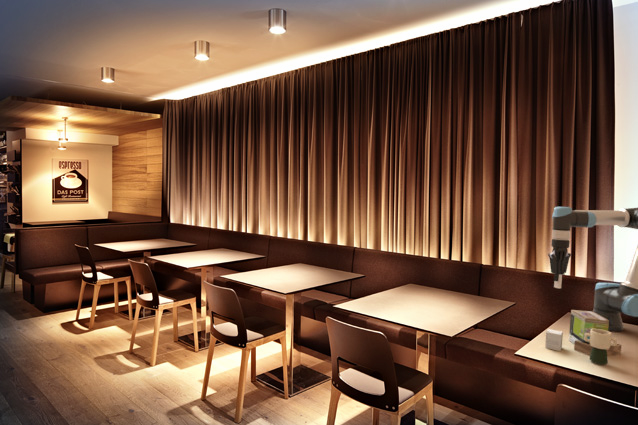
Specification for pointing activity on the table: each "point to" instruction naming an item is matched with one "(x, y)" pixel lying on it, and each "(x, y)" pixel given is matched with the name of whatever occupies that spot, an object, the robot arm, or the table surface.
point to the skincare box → (554, 339)
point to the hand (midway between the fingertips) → (557, 287)
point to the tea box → (585, 324)
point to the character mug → (599, 345)
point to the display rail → (587, 348)
